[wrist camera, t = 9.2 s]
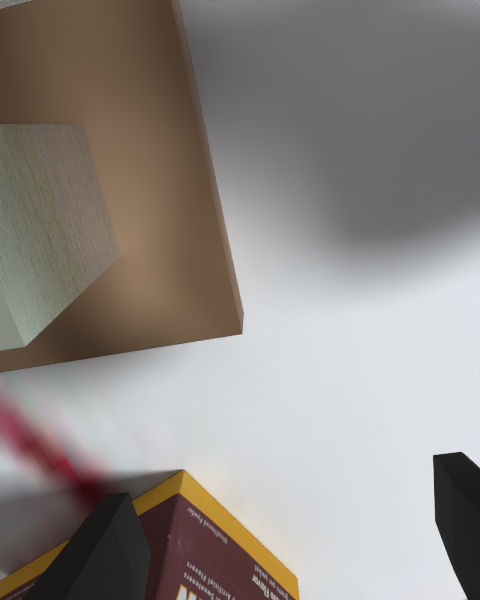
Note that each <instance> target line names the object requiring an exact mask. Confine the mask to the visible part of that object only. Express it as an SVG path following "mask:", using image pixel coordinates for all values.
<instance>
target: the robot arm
mask: <svg viewBox="0 0 480 600" xmlns="http://www.w3.org/2000/svg"><path fill="white" fill-rule="evenodd" d="M433 466H434V497H435V522H436V524H437V527H438V530H439V533H440V535H441V538H442V541H443V543H444V546H445V549H446V551H447V554H448V557H449V559H450V562H451V564H452V567H453V570H454V572H455V574H456V576H457V578H458V580H459V582H460V584H461V586H462V588H463V590H464V592H465V594H466V597H467V599H468V600H480V468H479V467H478V466H477V465H476V464H475V463H474V462H473V461H472V460H471V459H470V458H468V457H467V456H466V455H465V454H464V453H462V452H456V453H447V454H439V455H433ZM150 557H151V549H150V547H149V544H148V542H147V539H146V536H145V534H144V531H143V529H142V526H141V523H140V521H139V518H138V516H137V513H136V510H135V508H134V505H133V503H132V500H131V497H130V495H129V492H127V493H119V494H111V495H105V496H104V497H103V498H102V499H101V501H100V502H99V503H98V504H97V506H96V507H95V508H94V509H93V511H92V512H91V513H90V515H89V516H88V517H87V518H86V520H85V521H84V522H83V523H82V525H81V526H80V527H79V529H78V530H77V531H76V532H75V534H74V535H73V536H72V538H71V539H70V540H69V541H68V543H67V544H66V545H65V546H64V548H63V549H62V550H61V551H60V553H59V554H58V555H57V556H56V558H55V559H54V560H53V561H52V563H51V564H50V565H49V566H48V568H47V569H46V570H45V571H44V573H43V574H42V575H41V576H40V578H39V579H38V580H37V581H36V582H35V584H34V585H33V586H32V587H31V588H30V589H29V591H28V592H27V593H26V594H25V595H24V596H23V598H22V599H21V600H144V599H145V592H146V586H147V579H148V572H149V564H150Z"/></svg>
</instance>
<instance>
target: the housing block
mask: <svg viewBox="0 0 480 600" xmlns="http://www.w3.org/2000/svg"><path fill="white" fill-rule="evenodd" d="M120 256H121V253H120V249H119V246H118V243H117V239H116V236H115V233H114V229H113V226H112V222H111V219H110V216H109V212H108V209H107V206H106V202H105V199H104V195H103V192H102V189H101V185H100V182H99V179H98V175H97V172H96V168H95V165H94V162H93V158H92V155H91V152H90V148H89V145H88V141H87V138H86V135H85V131H84V128H83V125H49V124H0V350H7V349H14V348H20V347H25V346H26V345H28V344H29V343H30V342H31V341H32V340H33V339H34V338H35V337H36V336H37V335H38V334H39V333H40V332H41V331H42V330H43V329H44V328H45V327H46V326H47V325H49V324H50V323H51V322H52V321H53V320H54V319H55V318H56V317H57V316H58V315H59V314H60V313H61V312H62V311H63V310H64V309H65V308H66V307H67V306H68V305H69V304H71V303H72V302H73V301H74V300H75V299H76V298H77V297H78V296H79V295H80V294H81V293H82V292H83V291H84V290H85V289H86V288H87V287H88V286H89V285H90V284H91V283H93V282H94V281H95V280H96V279H97V278H98V277H99V276H100V275H101V274H102V273H103V272H104V271H105V270H106V269H107V268H108V267H109V266H110V265H111V264H112V263H114V262H115V261H116V260H117V259H118V258H119V257H120Z"/></svg>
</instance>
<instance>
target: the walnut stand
mask: <svg viewBox="0 0 480 600" xmlns="http://www.w3.org/2000/svg"><path fill="white" fill-rule="evenodd" d="M0 124H49V125H83V128H84V131H85V135H86V138H87V141H88V145H89V148H90V152H91V155H92V158H93V162H94V165H95V168H96V172H97V175H98V179H99V182H100V185H101V189H102V192H103V195H104V199H105V202H106V206H107V209H108V212H109V216H110V219H111V222H112V226H113V229H114V233H115V236H116V239H117V243H118V246H119V249H120V253H121V256H120V257H119V258H118V259H117V260H116V261H115V262H114V263H112V264H111V265H110V266H109V267H108V268H107V269H106V270H105V271H104V272H103V273H102V274H101V275H100V276H99V277H98V278H97V279H96V280H95V281H94V282H93V283H91V284H90V285H89V286H88V287H87V288H86V289H85V290H84V291H83V292H82V293H81V294H80V295H79V296H78V297H77V298H76V299H75V300H74V301H73V302H72V303H71V304H69V305H68V306H67V307H66V308H65V309H64V310H63V311H62V312H61V313H60V314H59V315H58V316H57V317H56V318H55V319H54V320H53V321H52V322H51V323H50V324H49V325H47V326H46V327H45V328H44V329H43V330H42V331H41V332H40V333H39V334H38V335H37V336H36V337H35V338H34V339H33V340H32V341H31V342H30V343H29V344H28V345H26V346H25V347H20V348H14V349H7V350H0V372H6V371H12V370H18V369H24V368H31V367H37V366H43V365H50V364H56V363H62V362H69V361H75V360H81V359H88V358H94V357H100V356H107V355H113V354H119V353H125V352H132V351H138V350H144V349H151V348H157V347H163V346H170V345H176V344H182V343H189V342H195V341H201V340H208V339H214V338H220V337H227V336H233V335H239V334H242V331H243V316H244V312H243V307H242V303H241V298H240V293H239V288H238V284H237V279H236V274H235V269H234V264H233V260H232V255H231V250H230V245H229V241H228V236H227V231H226V226H225V221H224V217H223V212H222V207H221V202H220V198H219V193H218V188H217V183H216V178H215V174H214V169H213V164H212V159H211V155H210V150H209V145H208V140H207V135H206V131H205V126H204V121H203V116H202V112H201V107H200V102H199V97H198V92H197V88H196V83H195V78H194V73H193V69H192V64H191V59H190V54H189V49H188V45H187V40H186V35H185V30H184V26H183V21H182V16H181V11H180V6H179V2H178V0H34V1H30V2H26V3H22V4H18V5H14V6H10V7H7V8H3V9H0Z"/></svg>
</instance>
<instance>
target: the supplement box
mask: <svg viewBox="0 0 480 600" xmlns="http://www.w3.org/2000/svg"><path fill="white" fill-rule="evenodd" d="M132 503H133V505H134V508H135V510H136V513H137V516H138V518H139V521H140V523H141V526H142V529H143V531H144V534H145V536H146V539H147V542H148V544H149V547H150V549H151V557H150V564H149V572H148V579H147V586H146V592H145V599H144V600H299V590H298V580H297V577H296V576H294V575H293V574H292V573H291V572H290V571H289V570H288V569H287V568H286V567H285V566H284V565H283V564H282V563H281V562H280V561H279V560H278V559H277V558H276V557H275V556H274V555H273V554H272V553H271V552H270V551H268V550H267V549H266V548H265V547H264V546H263V545H262V544H261V543H260V542H259V541H258V540H257V539H256V538H255V537H254V536H253V535H252V534H251V533H250V532H249V531H248V530H247V529H246V528H245V527H244V526H243V525H242V524H241V523H240V522H238V521H237V520H236V519H235V518H234V517H233V516H232V515H231V514H230V513H229V512H228V511H227V510H226V509H225V508H224V507H223V506H222V505H221V504H220V503H219V502H217V501H216V500H215V499H214V498H213V497H212V496H211V495H210V494H209V493H208V492H207V491H206V490H205V489H204V488H203V487H202V486H201V485H200V484H199V483H198V482H197V481H196V480H194V479H193V478H192V477H191V476H190V475H189V474H188V473H187V472H186V471H184V470H183V471H181V472H179V473H177V474H176V475H174V476H172V477H171V478H169V479H168V480H166V481H164V482H163V483H161V484H159V485H158V486H156V487H154V488H153V489H151V490H150V491H148V492H146V493H145V494H143V495H141V496H140V497H138V498H136V499H135V500H133V501H132ZM70 539H71V538H70ZM70 539H69V540H70ZM69 540H67V541H65V542H64V543H62V544H60V545H59V546H57V547H55V548H54V549H52V550H50V551H49V552H47V553H45V554H44V555H42V556H40V557H39V558H37V559H35V560H34V561H32V562H30V563H29V564H27V565H25V566H24V567H22V568H20V569H19V570H17V571H15V572H14V573H12V574H10V575H9V576H7V577H5V578H4V579H2V580H1V581H0V600H21V599H22V598H23V596H24V595H25V594H26V593H27V592H28V591H29V589H30V588H31V587H32V586H33V585H34V584H35V582H36V581H37V580H38V579H39V578H40V576H41V575H42V574H43V573H44V571H45V570H46V569H47V568H48V566H49V565H50V564H51V563H52V561H53V560H54V559H55V558H56V556H57V555H58V554H59V553H60V551H61V550H62V549H63V548H64V546H65V545H66V544H67V543H68V541H69Z"/></svg>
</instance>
